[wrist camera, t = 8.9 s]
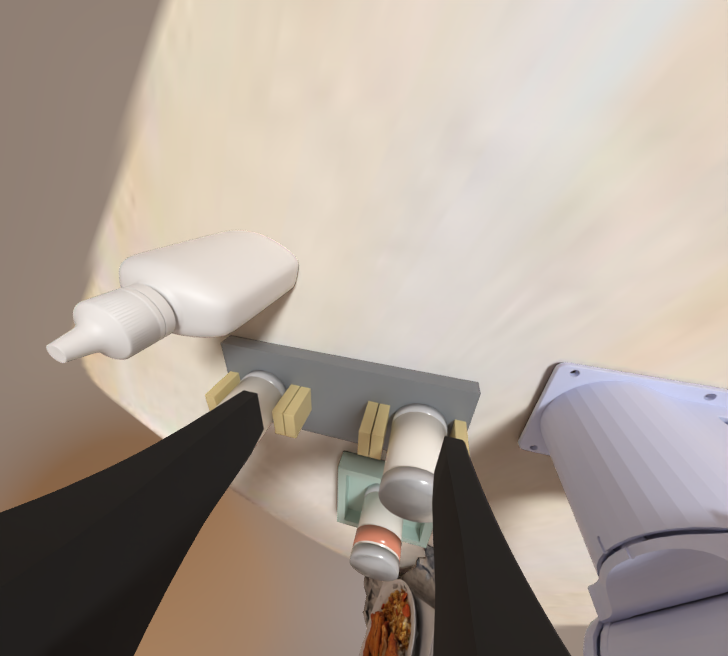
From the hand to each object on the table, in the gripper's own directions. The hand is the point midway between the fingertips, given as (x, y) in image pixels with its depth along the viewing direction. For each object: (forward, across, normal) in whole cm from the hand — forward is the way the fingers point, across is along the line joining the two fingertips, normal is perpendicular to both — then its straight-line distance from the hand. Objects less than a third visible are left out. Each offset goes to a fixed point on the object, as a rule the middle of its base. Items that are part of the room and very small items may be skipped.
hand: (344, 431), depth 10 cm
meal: (+10, -5, +35) cm, 37 cm away
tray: (+10, -2, +20) cm, 22 cm away
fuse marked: (+9, -2, +20) cm, 22 cm away
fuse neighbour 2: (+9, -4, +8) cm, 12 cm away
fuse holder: (+10, +3, +8) cm, 13 cm away
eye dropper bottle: (+10, +9, -3) cm, 14 cm away
